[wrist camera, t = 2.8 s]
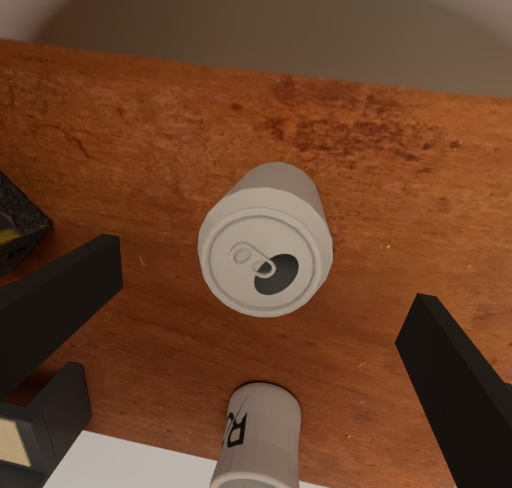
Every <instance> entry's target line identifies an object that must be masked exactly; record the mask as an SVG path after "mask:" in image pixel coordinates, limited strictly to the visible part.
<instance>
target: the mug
mask: <svg viewBox="0 0 512 488" xmlns="http://www.w3.org/2000/svg"><path fill="white" fill-rule="evenodd" d="M300 425H301V411H300V406H299V404H298V402H297V400H296V399H295V398H294V397H293V396H292V395H291V394H290V393H289V392H287V391H286V390H284V389H283V388H281V387H279V386H276V385H273V384H269V383H251V384H247V385H245V386H243V387H241V388H239V389H238V390H236V391H235V392H234V393H233V395H232V397H231V398H230V401H229V406H228V413H227V422H226V430H225V434H224V439H223V444H222V448H221V453H220V456H219V459H218V462H217V465H216V468H215V471H214V474H213V477H212V479H211V483H210V488H299V479H298V442H299V434H300Z"/></svg>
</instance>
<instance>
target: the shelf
mask: <svg viewBox="0 0 512 488" xmlns="http://www.w3.org/2000/svg"><path fill="white" fill-rule="evenodd" d="M91 417H92V414H91V409H90V403H89V398H88V392H87V387H86V381H85V376H84V370H83V365H82V364H78V363H73V362H68V363H67V364H66V365H65V366H64V367H63V368H62V369H61V370H60V371H59V372H58V373H57V374H56V375H55V376H54V377H53V378H52V380H51V381H50V382H49V383H48V384H47V385H46V386H45V387H44V388H43V389H42V390H41V391H40V392H39V393H38V394H37V395H36V396H35V397H34V398H33V399H32V400H31V402H30V403H29V404H28V405H27V406H26V407H24V406H20V405H16V404H12V403H7V402H3V401H1V402H0V488H43V486H44V485H45V483H46V482H47V480H48V478H49V477H50V476H51V474H52V473H53V471H54V470H55V469H56V467H57V466H58V465H59V463H60V462H61V460H62V459H63V457H64V456H65V455H66V453H67V452H68V450H69V449H70V447H71V446H72V444H73V443H74V442H75V440H76V439H77V437H78V436H79V434H80V433H81V432H82V430H83V429H84V427H85V426H86V424H87V423H88V422H89V420H90V419H91Z"/></svg>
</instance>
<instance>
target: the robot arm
mask: <svg viewBox="0 0 512 488" xmlns="http://www.w3.org/2000/svg"><path fill="white" fill-rule="evenodd" d="M122 288H123V279H122V267H121V254H120V241H119V236H114V235H108V234H101V235H100V236H98V237H96V238H94V239H93V240H91V241H89V242H87V243H85V244H84V245H82V246H80V247H78V248H77V249H75V250H73V251H71V252H69V253H68V254H66V255H64V256H62V257H60V258H59V259H57V260H55V261H53V262H52V263H50V264H48V265H46V266H44V267H43V268H41V269H39V270H37V271H36V272H34V273H32V274H30V275H28V276H27V277H25V278H23V279H21V280H19V281H18V282H14V283H11V284H8V285H5V286H2V287H0V402H1V401H2V400H3V399H4V398H5V397H6V396H7V395H8V394H9V393H10V392H11V391H13V390H14V389H15V388H16V387H17V386H18V385H19V384H20V383H21V382H22V381H23V380H24V379H25V378H26V377H28V376H29V375H30V374H31V373H32V372H33V371H34V370H35V369H36V368H37V367H38V366H39V365H40V364H42V363H43V362H44V361H45V360H46V359H47V358H48V357H49V356H50V355H51V354H52V353H53V352H54V351H56V350H57V349H58V348H59V347H60V346H61V345H62V344H63V343H64V342H65V341H66V340H67V339H68V338H69V337H71V336H72V335H73V334H74V333H75V332H76V331H77V330H78V329H79V328H80V327H81V326H82V325H83V324H85V323H86V322H87V321H88V320H89V319H90V318H91V317H92V316H93V315H94V314H95V313H96V312H97V311H98V310H100V309H101V308H102V307H103V306H104V305H105V304H106V303H107V302H108V301H109V300H110V299H111V298H112V297H114V296H115V295H116V294H117V293H118V292H119V291H120V290H121V289H122ZM395 345H396V347H397V350H398V352H399V354H400V356H401V359H402V361H403V363H404V366H405V368H406V370H407V373H408V375H409V377H410V380H411V382H412V384H413V387H414V389H415V391H416V393H417V396H418V398H419V400H420V403H421V405H422V407H423V410H424V412H425V414H426V417H427V419H428V421H429V424H430V426H431V428H432V430H433V433H434V435H435V437H436V440H437V442H438V444H439V447H440V449H441V451H442V454H443V456H444V458H445V460H446V463H447V465H448V467H449V470H450V472H451V474H452V477H453V479H454V481H455V484H456V486H457V488H512V384H509V383H505V382H503V380H502V379H501V378H500V377H499V375H498V374H497V373H496V372H495V370H494V369H493V368H492V367H491V365H490V364H489V363H488V361H487V360H486V359H485V358H484V356H483V355H482V354H481V353H480V351H479V350H478V349H477V348H476V346H475V345H474V344H473V342H472V341H471V340H470V339H469V337H468V336H467V335H466V334H465V332H464V331H463V330H462V328H461V327H460V326H459V325H458V323H457V322H456V321H455V320H454V318H453V317H452V316H451V315H450V313H449V312H448V311H447V309H446V308H445V307H444V306H443V304H442V303H441V302H440V301H439V299H438V298H437V297H436V296H431V295H425V294H420V293H417V295H416V297H415V299H414V301H413V304H412V306H411V308H410V310H409V312H408V315H407V317H406V319H405V321H404V323H403V326H402V328H401V330H400V332H399V334H398V337H397V339H396V341H395Z"/></svg>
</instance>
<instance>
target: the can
mask: <svg viewBox="0 0 512 488" xmlns="http://www.w3.org/2000/svg"><path fill="white" fill-rule="evenodd" d="M197 250H198V254H199V259H200V264H201V269H202V273H203V277H204V280H205V281H206V283H207V285H208V286H209V288H210V290H211V291H212V293H213V294H214V295H215V296H216V297H217V298H218V299H219V300H221V301H222V302H223V303H224V304H225V305H226V306H228V307H230V308H232V309H234V310H236V311H238V312H240V313H242V314H247V315H251V316H255V317H277V316H281V315H284V314H288V313H291V312H293V311H295V310H297V309H298V308H300V307H301V306H303V305H304V304H306V303H307V302H308V301H309V300H310V298H311V297H312V296H313V295H314V294H315V293H316V291H317V290H318V289H319V288H320V287H321V285H322V284H323V283H324V282H325V280H326V279H327V276H328V273H329V270H330V267H331V264H332V262H333V251H332V238H331V235H330V231H329V228H328V224H327V221H326V218H325V214H324V211H323V207H322V204H321V200H320V197H319V194H318V192H317V189H316V186H315V184H314V182H313V181H312V180H311V179H310V178H309V176H308V175H307V174H306V173H305V172H304V171H302V170H300V169H299V168H297V167H295V166H294V165H291V164H286V163H282V162H271V163H263V164H261V165H259V166H257V167H255V168H253V169H251V170H250V171H249V172H248V173H247V174H246V175H244V176H243V177H242V178H241V179H240V180H239V181H238V182H237V183H236V185H235V186H234V187H233V188H232V189H231V190H230V191H229V192H228V193H227V194H226V195H225V196H224V197H223V198H222V199H221V200H220V201H219V202H218V203H217V204H216V205H215V206H214V207H213V208H212V209H211V210H210V211H209V212H208V214H207V216H206V218H205V220H204V222H203V224H202V226H201V228H200V230H199V238H198V248H197Z"/></svg>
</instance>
